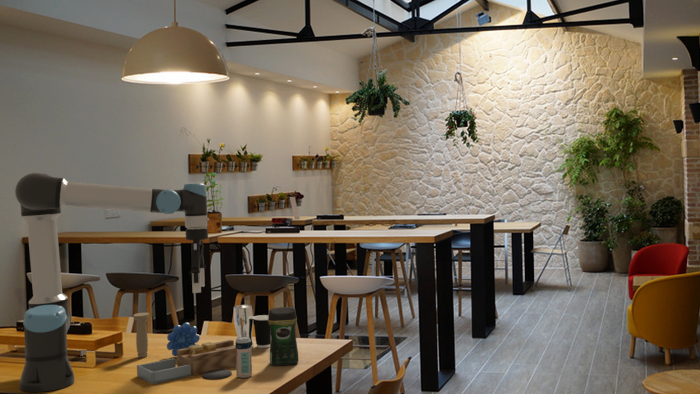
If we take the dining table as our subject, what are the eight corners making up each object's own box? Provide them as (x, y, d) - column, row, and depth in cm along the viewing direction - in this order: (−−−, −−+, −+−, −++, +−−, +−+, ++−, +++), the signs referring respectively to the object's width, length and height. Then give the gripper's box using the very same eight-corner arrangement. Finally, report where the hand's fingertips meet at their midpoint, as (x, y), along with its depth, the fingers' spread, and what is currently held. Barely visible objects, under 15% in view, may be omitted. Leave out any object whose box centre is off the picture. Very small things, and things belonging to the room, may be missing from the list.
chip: (195, 357, 213) (194, 348, 213) (189, 355, 217) (189, 346, 217) (203, 355, 215) (203, 346, 215) (197, 353, 218) (197, 344, 218)
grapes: (203, 353, 237) (202, 319, 237) (198, 358, 230) (197, 323, 230) (170, 354, 237) (169, 320, 237) (165, 359, 231) (163, 324, 230)
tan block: (207, 354, 216) (207, 345, 216) (202, 352, 219) (201, 343, 219) (216, 353, 218) (215, 344, 218) (210, 351, 221) (210, 342, 221)
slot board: (193, 375, 209) (193, 356, 209) (177, 368, 218) (176, 349, 218) (249, 363, 222) (248, 345, 221) (231, 356, 231) (230, 339, 231)
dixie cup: (278, 346, 244) (277, 317, 244) (259, 350, 239) (259, 320, 239) (267, 342, 250) (267, 314, 250) (248, 345, 246) (248, 316, 245)
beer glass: (233, 346, 246) (230, 306, 246) (251, 343, 249) (249, 303, 248) (238, 350, 240) (235, 309, 239) (257, 347, 243) (254, 306, 242)
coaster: (211, 381, 202) (210, 379, 202) (197, 375, 209) (197, 373, 209) (237, 375, 208) (237, 373, 208) (223, 369, 215) (223, 367, 215)
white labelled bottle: (244, 373, 210) (243, 335, 209) (255, 375, 207) (254, 337, 206) (233, 377, 206) (232, 338, 206) (243, 379, 203) (242, 340, 203)
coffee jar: (297, 359, 225) (296, 304, 225) (299, 365, 217) (297, 308, 217) (269, 361, 224) (267, 306, 224) (269, 367, 216) (267, 310, 216)
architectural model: (76, 360, 234) (75, 339, 234) (85, 355, 241) (84, 334, 241) (86, 359, 234) (85, 338, 234) (94, 354, 241) (93, 334, 241)
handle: (152, 354, 238) (150, 312, 237) (146, 359, 231) (145, 316, 231) (138, 354, 238) (137, 312, 237) (132, 359, 231) (131, 316, 231)
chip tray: (152, 384, 200) (152, 372, 200) (137, 376, 210) (136, 365, 210) (190, 376, 208) (190, 364, 208) (174, 368, 217) (174, 358, 217)
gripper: (204, 229, 217) (206, 294, 218) (210, 225, 242) (212, 283, 243) (180, 230, 216) (183, 295, 217) (189, 226, 241) (191, 284, 242)
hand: (198, 289), depth 230 cm, fingers open, 13 cm apart
